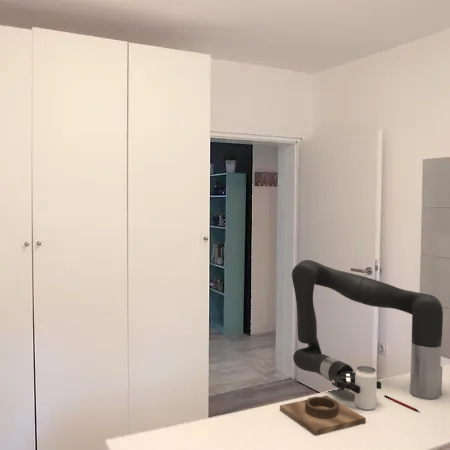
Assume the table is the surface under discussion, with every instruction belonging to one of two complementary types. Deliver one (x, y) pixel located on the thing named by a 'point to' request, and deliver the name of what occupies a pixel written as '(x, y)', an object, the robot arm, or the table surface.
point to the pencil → (402, 403)
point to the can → (366, 388)
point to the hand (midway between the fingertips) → (369, 388)
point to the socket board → (322, 423)
